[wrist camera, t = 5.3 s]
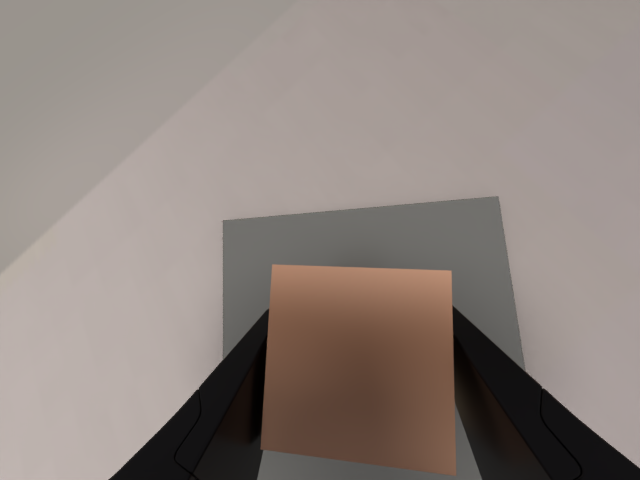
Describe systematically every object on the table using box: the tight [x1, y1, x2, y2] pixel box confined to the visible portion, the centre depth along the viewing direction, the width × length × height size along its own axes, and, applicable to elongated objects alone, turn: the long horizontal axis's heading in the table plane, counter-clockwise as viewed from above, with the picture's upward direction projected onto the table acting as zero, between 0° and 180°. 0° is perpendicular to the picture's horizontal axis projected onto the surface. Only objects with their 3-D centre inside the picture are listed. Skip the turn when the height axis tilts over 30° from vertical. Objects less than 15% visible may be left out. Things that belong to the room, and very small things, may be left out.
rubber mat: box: [223, 196, 525, 480], centre depth 21 cm, size 26×22×1 cm
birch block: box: [261, 264, 456, 476], centre depth 14 cm, size 5×5×14 cm
